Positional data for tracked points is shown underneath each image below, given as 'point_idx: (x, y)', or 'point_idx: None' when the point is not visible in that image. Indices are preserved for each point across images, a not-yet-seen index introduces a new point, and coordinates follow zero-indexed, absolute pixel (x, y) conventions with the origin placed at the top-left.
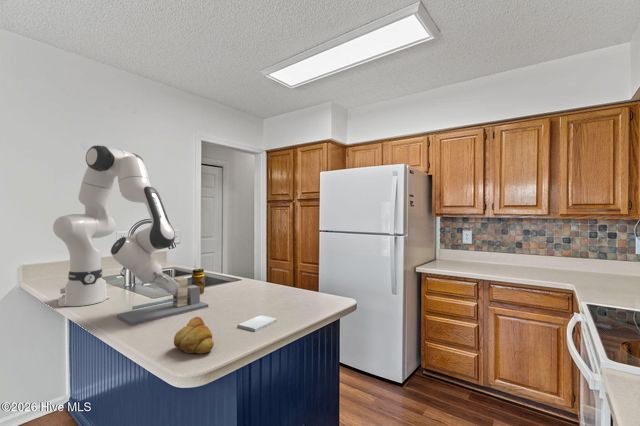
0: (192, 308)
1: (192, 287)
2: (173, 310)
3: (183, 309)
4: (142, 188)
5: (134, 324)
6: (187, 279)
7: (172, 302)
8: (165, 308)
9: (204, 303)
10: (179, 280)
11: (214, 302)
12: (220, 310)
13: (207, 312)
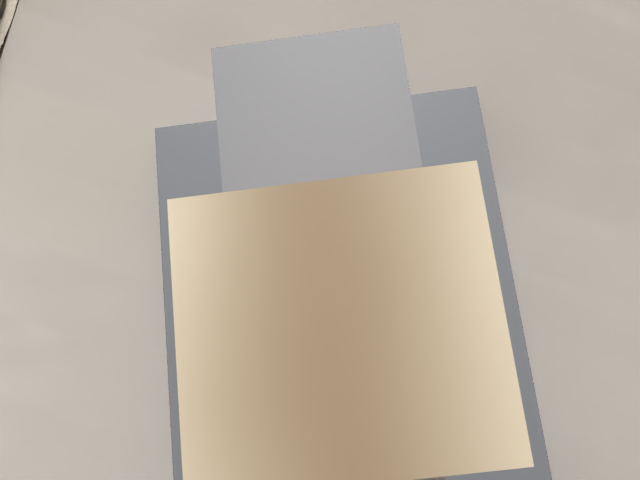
0: (505, 251)
1: (371, 125)
2: None
3: None
4: None
5: None
6: (464, 172)
7: (168, 333)
8: None
9: (423, 104)
10: (517, 414)
11: (354, 5)
12: (634, 60)
13: (625, 168)
